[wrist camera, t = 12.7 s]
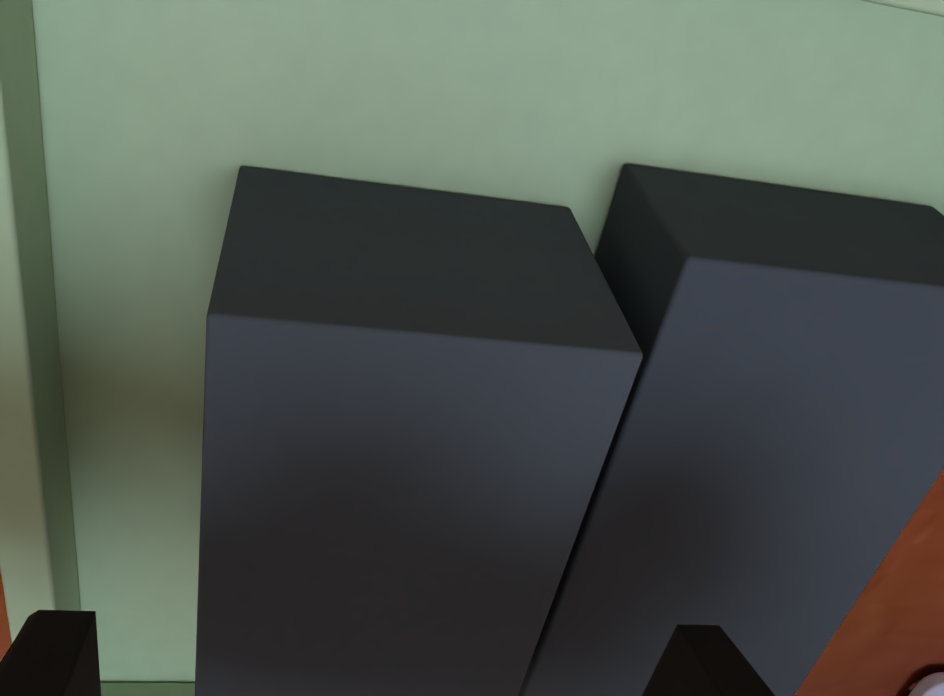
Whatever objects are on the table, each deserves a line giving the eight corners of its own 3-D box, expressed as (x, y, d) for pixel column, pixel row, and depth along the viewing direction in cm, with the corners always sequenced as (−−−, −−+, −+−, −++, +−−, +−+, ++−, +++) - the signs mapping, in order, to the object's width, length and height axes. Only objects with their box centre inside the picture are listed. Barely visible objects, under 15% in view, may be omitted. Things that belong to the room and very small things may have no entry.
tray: (701, 681, 23) (731, 758, 21) (56, 678, 19) (29, 769, 18) (1096, -33, 13) (1211, 2, 11) (-51, -287, 10) (-133, -292, 8)
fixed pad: (722, 602, 20) (777, 724, 17) (488, 597, 19) (512, 726, 16) (933, 205, 14) (1056, 301, 12) (622, 161, 13) (687, 257, 11)
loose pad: (472, 558, 18) (502, 740, 15) (220, 549, 17) (192, 744, 14) (571, 205, 14) (646, 354, 10) (240, 163, 12) (206, 313, 9)
